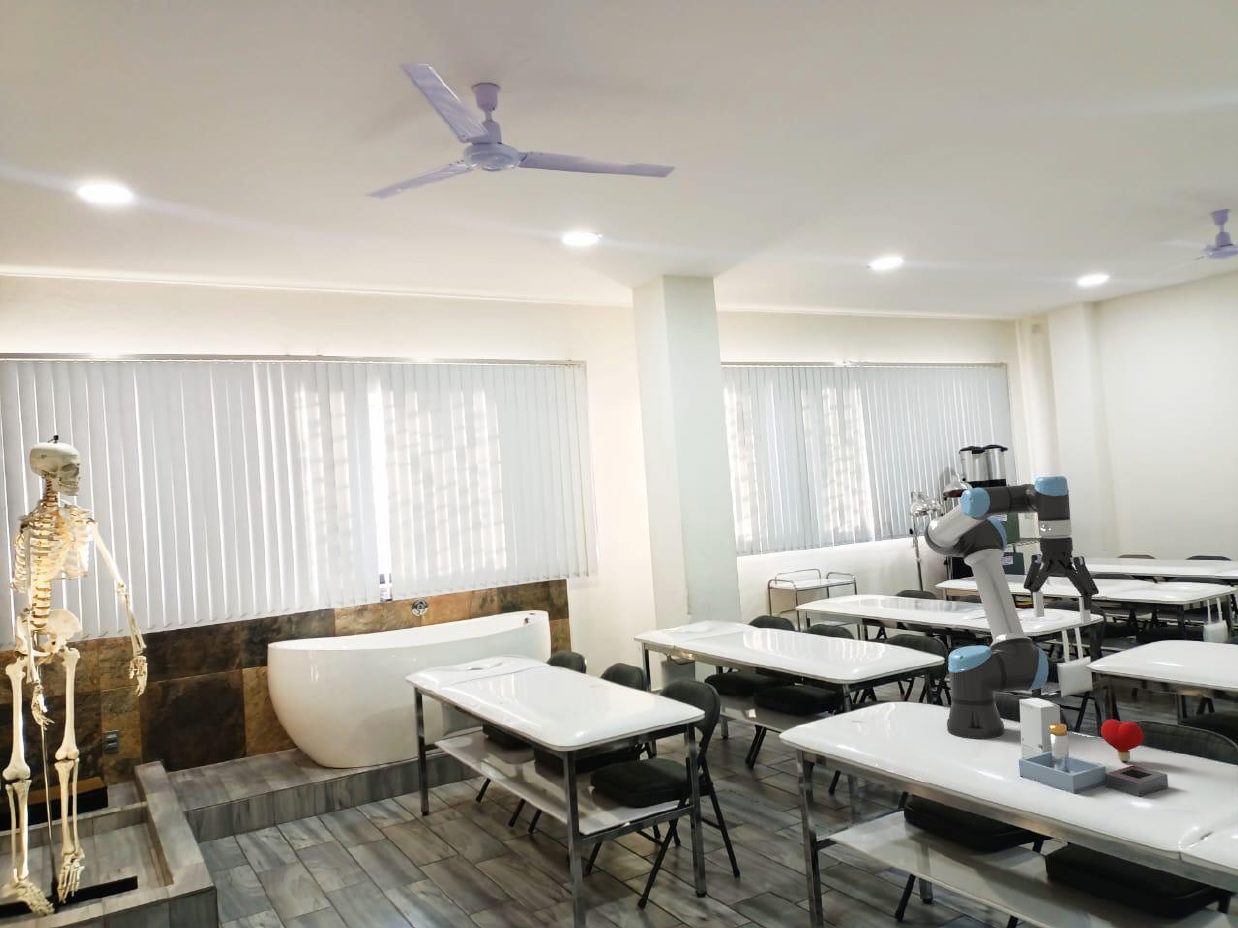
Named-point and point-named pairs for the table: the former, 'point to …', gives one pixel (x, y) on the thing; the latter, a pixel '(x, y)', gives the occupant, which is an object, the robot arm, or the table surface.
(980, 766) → the table surface
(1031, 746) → the skincare box
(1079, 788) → the tray
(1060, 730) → the copper top battery
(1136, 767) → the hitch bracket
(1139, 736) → the red heart shape
